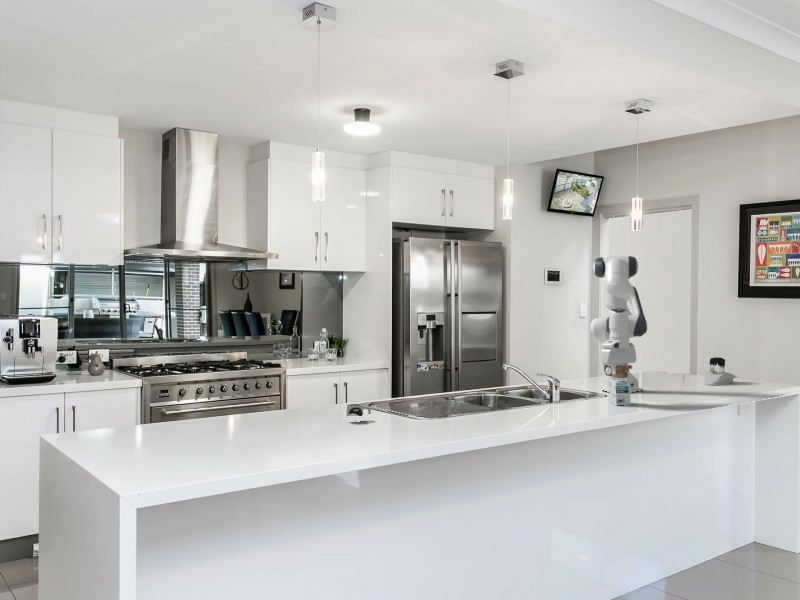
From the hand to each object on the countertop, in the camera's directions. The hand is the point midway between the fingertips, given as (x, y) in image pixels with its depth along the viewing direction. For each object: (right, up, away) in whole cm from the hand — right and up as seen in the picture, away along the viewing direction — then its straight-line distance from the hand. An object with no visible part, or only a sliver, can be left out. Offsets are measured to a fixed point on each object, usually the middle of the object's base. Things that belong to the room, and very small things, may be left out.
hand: (619, 373), depth 319 cm
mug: (-118, -15, -38) cm, 125 cm away
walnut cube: (0, -2, 0) cm, 2 cm away
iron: (+80, -14, +74) cm, 110 cm away
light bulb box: (0, -14, 0) cm, 14 cm away
